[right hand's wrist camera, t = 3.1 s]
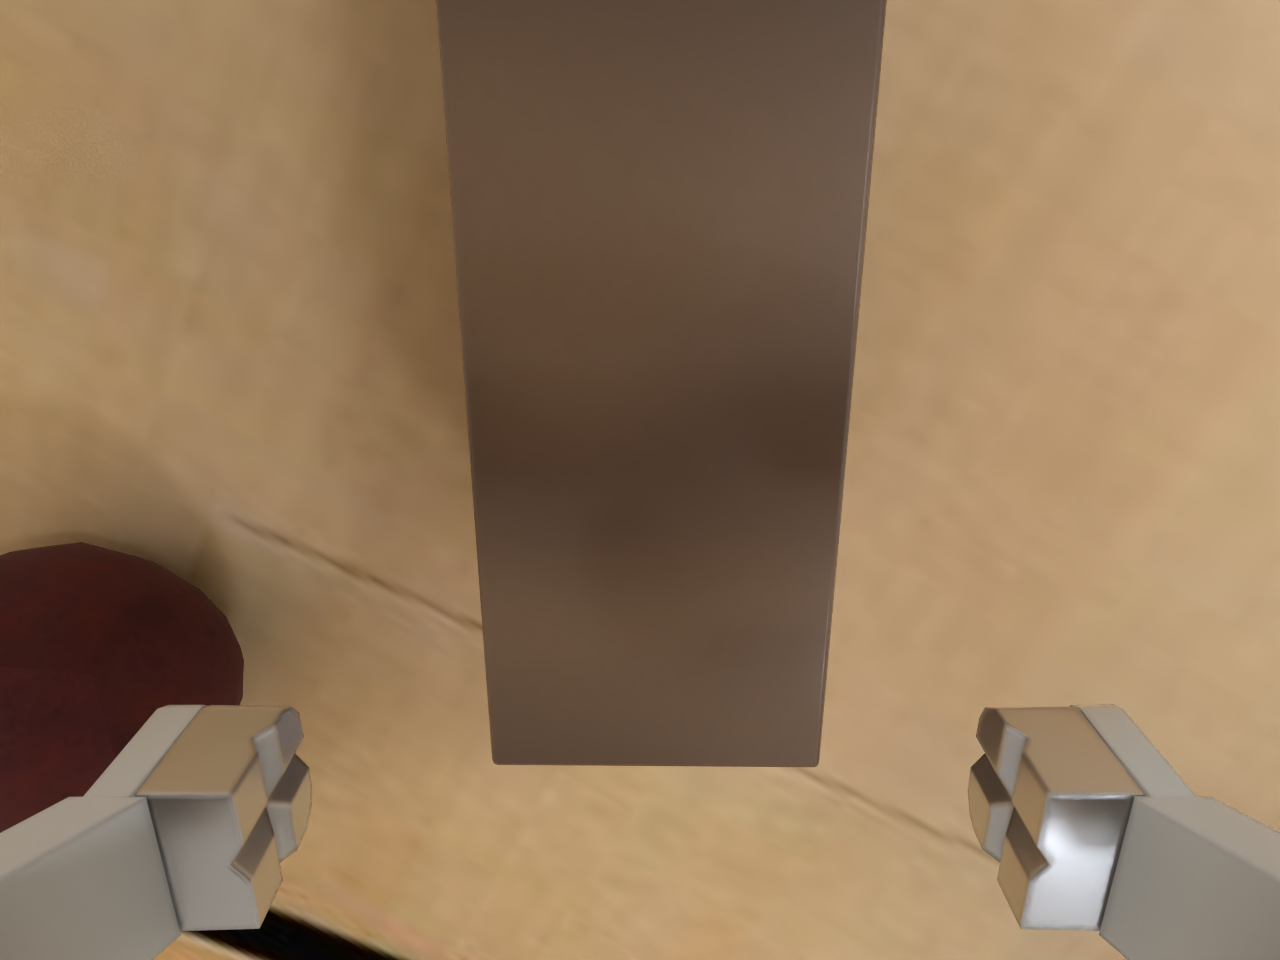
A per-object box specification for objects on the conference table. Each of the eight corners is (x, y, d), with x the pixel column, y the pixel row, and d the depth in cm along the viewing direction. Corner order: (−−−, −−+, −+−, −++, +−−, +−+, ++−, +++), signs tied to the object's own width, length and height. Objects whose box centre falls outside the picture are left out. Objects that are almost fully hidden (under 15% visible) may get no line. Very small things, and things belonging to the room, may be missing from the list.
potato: (-26, 501, 24) (-283, 640, 17) (260, 497, 24) (111, 635, 17) (46, 729, 27) (-153, 924, 20) (304, 726, 26) (189, 922, 20)
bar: (759, 541, 24) (819, 769, 15) (549, 540, 24) (491, 766, 16) (829, -776, 15) (1067, -2002, 6) (494, -773, 15) (287, -1983, 7)
